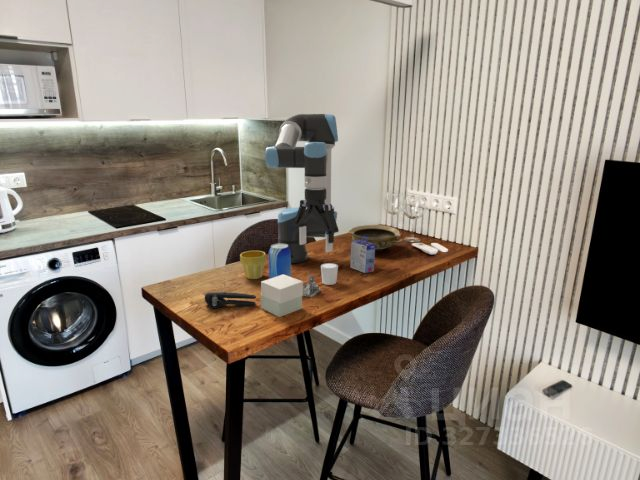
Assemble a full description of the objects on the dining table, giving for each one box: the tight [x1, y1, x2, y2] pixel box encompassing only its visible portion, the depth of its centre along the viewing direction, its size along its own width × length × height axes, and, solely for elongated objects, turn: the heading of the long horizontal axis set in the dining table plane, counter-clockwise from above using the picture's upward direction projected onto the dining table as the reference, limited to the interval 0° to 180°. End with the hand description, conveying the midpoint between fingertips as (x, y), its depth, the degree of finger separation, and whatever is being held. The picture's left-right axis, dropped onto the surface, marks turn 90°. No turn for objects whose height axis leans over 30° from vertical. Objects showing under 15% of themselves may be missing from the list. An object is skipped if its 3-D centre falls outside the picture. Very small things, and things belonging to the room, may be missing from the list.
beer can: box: [268, 243, 292, 279], centre depth 166 cm, size 8×8×16 cm
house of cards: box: [302, 274, 322, 298], centre depth 161 cm, size 9×9×8 cm
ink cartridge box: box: [349, 236, 376, 274], centre depth 184 cm, size 10×6×14 cm, turn 38°
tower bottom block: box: [260, 294, 303, 318], centre depth 147 cm, size 10×10×5 cm
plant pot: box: [239, 250, 267, 280], centre depth 176 cm, size 10×10×10 cm
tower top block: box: [260, 274, 304, 304], centre depth 145 cm, size 10×10×5 cm
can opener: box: [204, 290, 257, 309], centre depth 149 cm, size 18×7×6 cm, turn 94°
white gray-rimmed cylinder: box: [320, 262, 339, 286], centre depth 170 cm, size 7×7×7 cm
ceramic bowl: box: [347, 224, 403, 253], centre depth 212 cm, size 30×24×10 cm
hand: (315, 247), depth 153 cm, fingers open, 13 cm apart
